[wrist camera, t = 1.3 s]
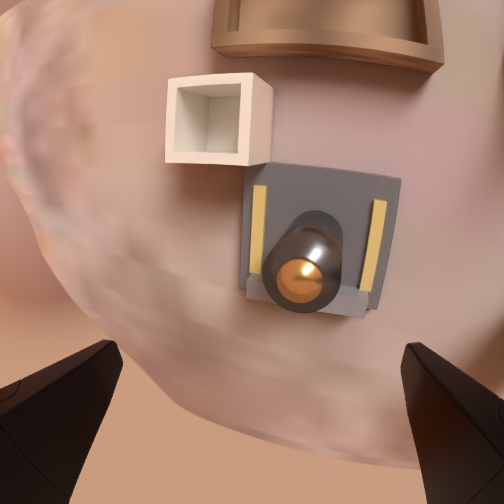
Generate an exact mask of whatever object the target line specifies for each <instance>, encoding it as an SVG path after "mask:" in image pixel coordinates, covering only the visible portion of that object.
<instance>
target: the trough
mask: <svg viewBox="0 0 504 504" xmlns="http://www.w3.org/2000/svg"><path fill="white" fill-rule="evenodd" d="M211 48H213V49H215V50H216V51H218V52H219V53H221V54H222V55H224V56H225V57H227V58H235V57H258V56H297V57H319V58H333V59H345V60H354V61H362V62H370V63H377V64H383V65H390V66H395V67H401V68H406V69H411V70H416V71H420V72H425V73H429V74H433V73H434V72H436V71H437V70H438V69H439V68H440V67H441V66H443V65H444V48H443V36H442V26H441V18H440V11H439V4H438V0H215V8H214V18H213V29H212V40H211Z"/></svg>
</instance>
